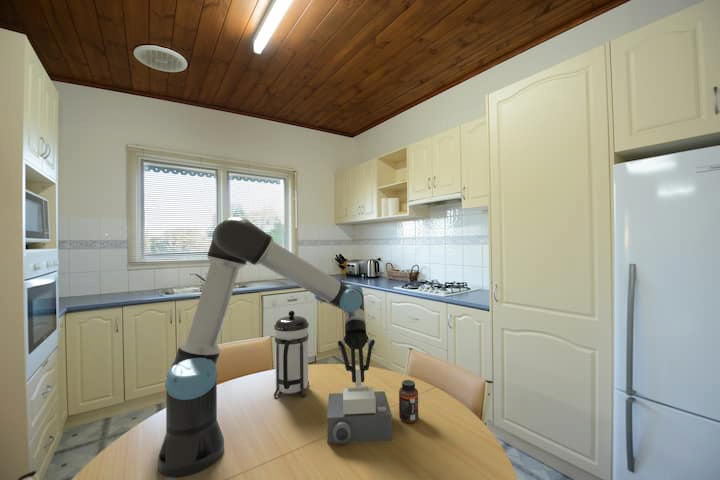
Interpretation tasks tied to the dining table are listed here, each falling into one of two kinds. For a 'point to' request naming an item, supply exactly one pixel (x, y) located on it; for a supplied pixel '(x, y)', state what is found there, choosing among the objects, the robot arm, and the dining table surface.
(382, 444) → the dining table surface
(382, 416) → the gray box
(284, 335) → the coffee press
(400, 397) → the supplement bottle
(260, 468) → the dining table surface
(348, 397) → the hatch door
